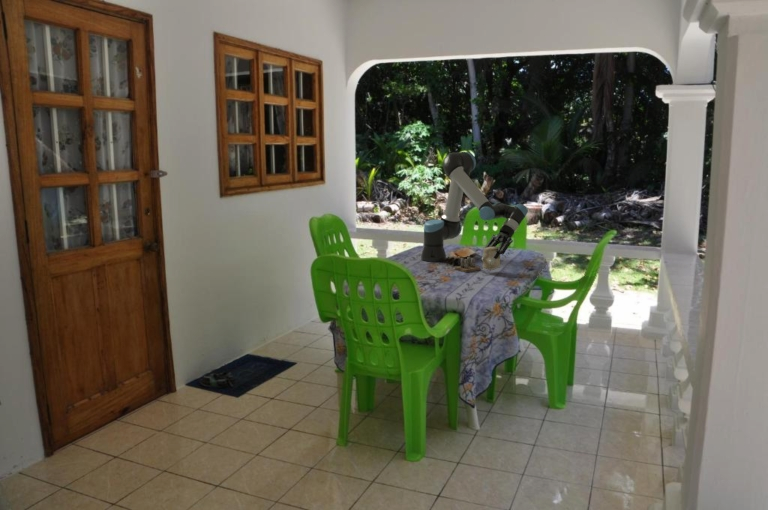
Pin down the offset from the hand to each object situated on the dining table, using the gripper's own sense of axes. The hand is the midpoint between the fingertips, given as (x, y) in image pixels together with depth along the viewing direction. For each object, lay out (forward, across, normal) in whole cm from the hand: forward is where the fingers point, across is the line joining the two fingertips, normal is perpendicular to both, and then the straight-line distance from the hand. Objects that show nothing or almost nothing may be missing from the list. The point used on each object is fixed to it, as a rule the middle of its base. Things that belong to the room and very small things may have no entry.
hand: (486, 261), depth 337 cm
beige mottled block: (0, 0, -5) cm, 5 cm away
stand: (+6, +13, -4) cm, 15 cm away
